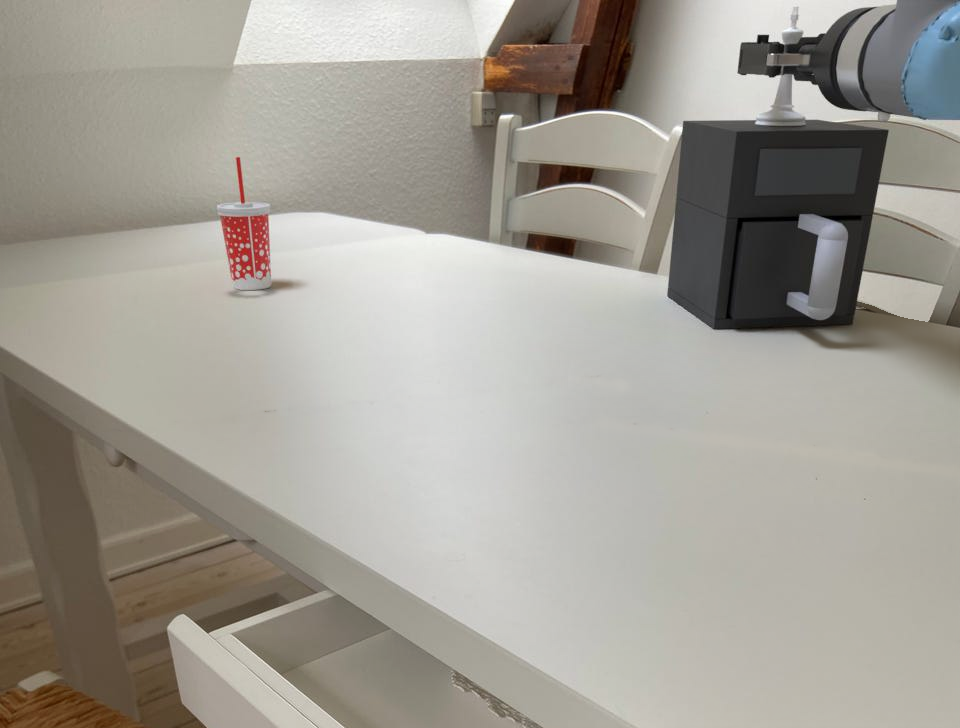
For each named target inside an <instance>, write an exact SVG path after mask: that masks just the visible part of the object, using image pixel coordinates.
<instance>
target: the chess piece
mask: <svg viewBox="0 0 960 728" xmlns="http://www.w3.org/2000/svg"><path fill="white" fill-rule="evenodd" d="M798 20H799V6H793V7H792V12H791V14H790V27H788V28H786V29H783V30H782V31H781V38H782V44H797V43H798V42H799V40H800V38H801V37H803V36H804V30H803V29H801V28H798V27H797V23H798V22H797V21H798ZM770 107H771V108H772V109H770V110H768V111H765V112H762V113H760V114H758V115H757V116H756V118H755V120H757V121H756V122H755V125H761V126H804V125H806V124H805V120H807V118H806V115H804V114H802V113H800V112H797V111H795V110H793V108H795V105H793V75H792V74H785V75H780V78H779V83H778V87H777V91H776V94H775V99H774V101H773V104H772V105H770Z"/></svg>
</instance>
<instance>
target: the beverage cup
mask: <svg viewBox="0 0 960 728" xmlns="http://www.w3.org/2000/svg"><path fill="white" fill-rule="evenodd" d="M235 163H236V170H237V180H238V181H237V182H238V188H239V198H240V201H237V202H227V203H221V204H217V205H216V211H217V215H219V217H220V224H221V228H222V235H223V238H224V239H223V240H224V245H225V250H226V257H227V261H228V267H229V273H230V280H231V284H232V288H233V289H235V290H240V291H242V290H243V291H257V290H265V289H269V288H270V287H272V267H271V266H272V265H271V264H272V263H271V244H270V223H269V219H270V218H269V214H271V209H270V208H271V204H270V203H267V202H260V201H259V202H258V201H246V200H245V199H246V198H245V190H244V180H243V171H242V162H241V157H240V156H236V157H235Z"/></svg>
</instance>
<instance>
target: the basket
mask: <svg viewBox="0 0 960 728" xmlns="http://www.w3.org/2000/svg"><path fill="white" fill-rule="evenodd" d="M862 227H863V221H862V220H829V219H826V218H823V217H820V216H817V215H814V214H800V216H799V217H763V218H738V223H737V231H736V239H735V248H734V256H733V264H732V272H731V280H730V289H729V297H728V305H727V314H729V315H730V316H731V318H733V319H756V318H786V317H810V318H812V319H816V320H824V319H827V318H829V317H830V316H845V315H847V309H848V304H849V298H850V293H851V287H852V282H853V276H854V271H855V265H856V260H857V254H858V249H859V243H860V238H861V232H862Z"/></svg>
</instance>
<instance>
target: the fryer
mask: <svg viewBox="0 0 960 728" xmlns="http://www.w3.org/2000/svg"><path fill="white" fill-rule="evenodd" d="M756 121H757V119H737V120H735V119H733V120H732V119H731V120H727V119H725V120H720V119H719V120H683V121H682V130H681V141H680V152H679V162H678V173H677V174H678V175H677V185H676V196H675V206H674V217H673V226H672V227H673V228H672V229H673V230H672V238H671V251H670V261H669V262H670V263H669V272H668V284H667V294H666V296H667V297H668V298H669V299H670V300H672V301H674V302H675V303H676V304H678V305H679V306H681V307H682V308H683V309H685V310H686V311H688V312H689V313H690V314H692V315H694V316H695V317H696V318H697V319H699V320H701V321H702V322H703V323H704V324H706V325H707V326H709V327H710V328H712V329H713V330H726V329H727V330H728V329H730V330H731V329H757V328H759V329H761V328H784V327H785V328H787V327H814V326H815V327H816V326H818V327H819V326H844V325H853V324H854V319H855V314H856V310H857V309H856V308H857V303H858V298H859V294H860V293H859V292H860V288H861V282H862V277H863V276H862V275H863V271H864V266H865V261H866V256H867V250H868V245H869V238H870V233H871V228H872V223H873V218H874V217H873V216H874V213H875V207H876V201H877V195H878V190H879V186H880V180H881V174H882V170H883V163H884V157H885V154H886V147H887V143H888V137H889V129H887V128H886V129H885V128H878V127H872V126H864V125H859V124H850V123H844V122H836V121H829V120H823V119H822V120H821V119H805V124H806V125H804V126H761V125H755V122H756ZM800 214H814V215H817V216H820V217H823V218H826V219H829V220H862V221H863V227H862V232H861V238H860V243H859V249H858V254H857V260H856V265H855V271H854V276H853V282H852V287H851V293H850V298H849V304H848V309H847V315H845V316H830V317H829V318H827V319H824V320H816V319H812V318H810V317H786V318H756V319H733V318H731V316H730V315H729V314H727V305H728V297H729V289H730V280H731V272H732V264H733V256H734V248H735V239H736V231H737V223H738V218H763V217H799V216H800Z"/></svg>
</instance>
